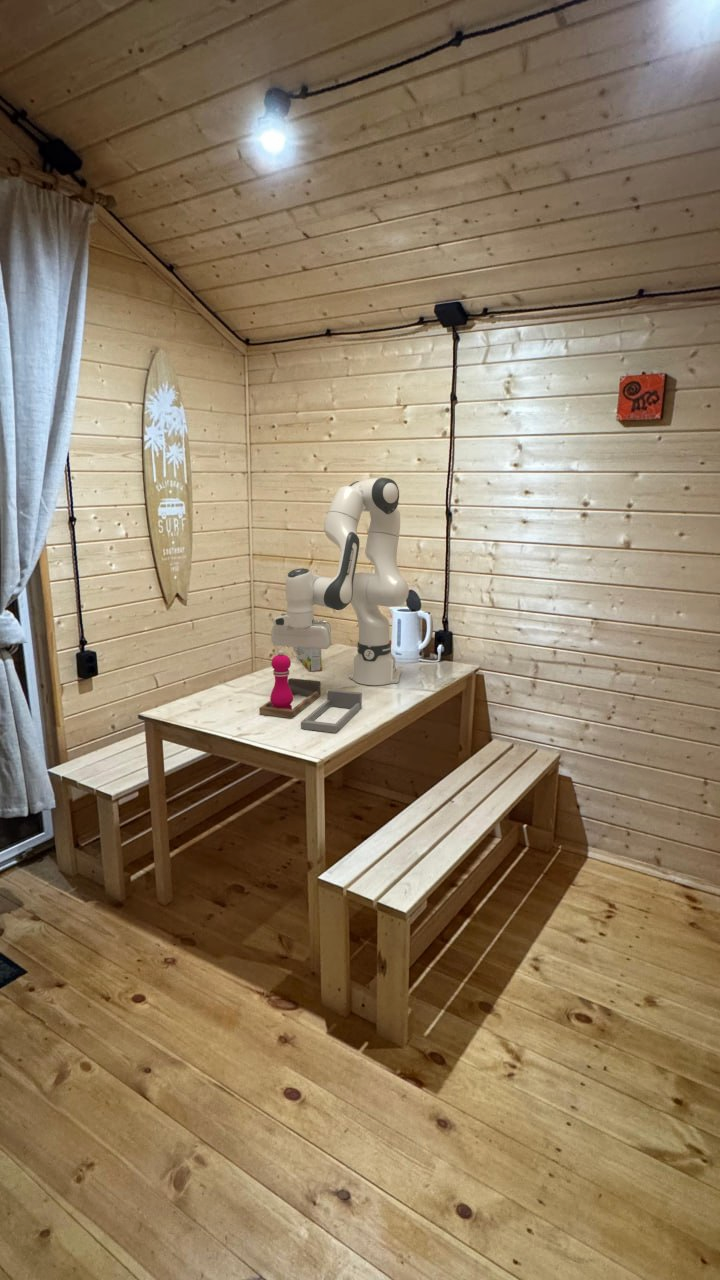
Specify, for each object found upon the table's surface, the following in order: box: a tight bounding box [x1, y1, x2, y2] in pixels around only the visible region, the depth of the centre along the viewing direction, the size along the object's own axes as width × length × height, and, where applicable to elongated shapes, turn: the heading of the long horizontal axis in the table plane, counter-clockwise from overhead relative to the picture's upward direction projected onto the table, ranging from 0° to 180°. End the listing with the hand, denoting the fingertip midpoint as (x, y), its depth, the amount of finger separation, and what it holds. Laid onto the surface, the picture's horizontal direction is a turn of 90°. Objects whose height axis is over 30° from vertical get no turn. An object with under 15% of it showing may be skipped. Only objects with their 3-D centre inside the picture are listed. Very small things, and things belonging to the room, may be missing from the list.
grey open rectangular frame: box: [300, 688, 363, 734], centre depth 212 cm, size 24×11×5 cm, turn 162°
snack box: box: [299, 647, 323, 673], centre depth 271 cm, size 21×6×15 cm, turn 17°
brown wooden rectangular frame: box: [258, 677, 322, 719], centre depth 224 cm, size 24×11×5 cm, turn 162°
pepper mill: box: [269, 649, 294, 710], centre depth 216 cm, size 7×7×20 cm
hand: (302, 659), depth 229 cm, fingers closed
